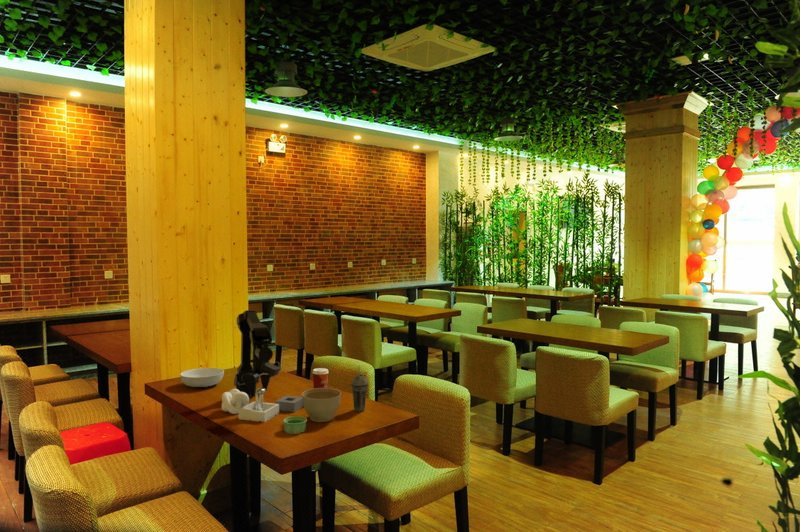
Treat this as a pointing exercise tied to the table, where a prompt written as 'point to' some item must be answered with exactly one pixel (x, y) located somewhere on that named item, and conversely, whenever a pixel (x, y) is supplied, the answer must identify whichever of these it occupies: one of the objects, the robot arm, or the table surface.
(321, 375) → the paper cup
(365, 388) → the beverage cup
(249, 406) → the tray
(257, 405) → the pin
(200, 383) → the serving bowl
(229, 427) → the table surface
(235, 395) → the white knot sculpture
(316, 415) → the planter bowl
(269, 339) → the robot arm
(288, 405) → the block
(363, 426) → the table surface
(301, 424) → the ramekin
